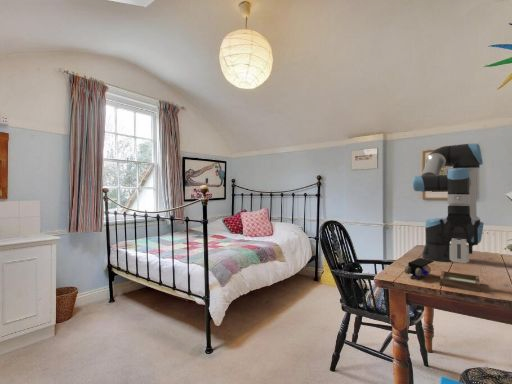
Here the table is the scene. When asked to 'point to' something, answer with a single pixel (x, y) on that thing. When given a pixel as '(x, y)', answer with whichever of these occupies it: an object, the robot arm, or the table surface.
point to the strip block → (459, 250)
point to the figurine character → (418, 268)
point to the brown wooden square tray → (460, 281)
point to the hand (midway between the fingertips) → (459, 260)
